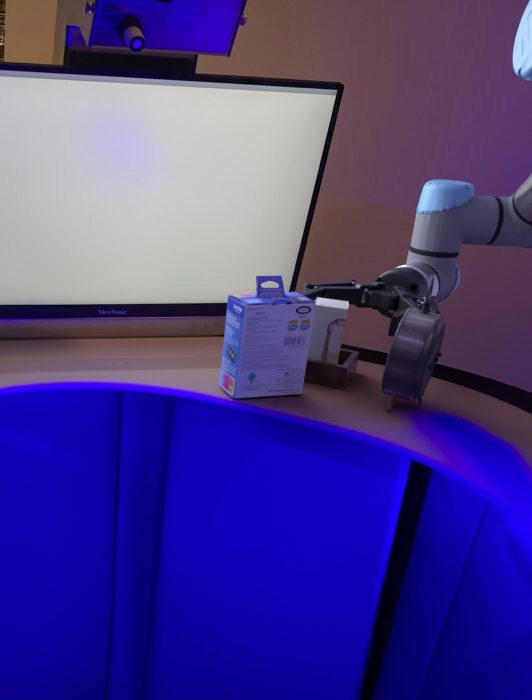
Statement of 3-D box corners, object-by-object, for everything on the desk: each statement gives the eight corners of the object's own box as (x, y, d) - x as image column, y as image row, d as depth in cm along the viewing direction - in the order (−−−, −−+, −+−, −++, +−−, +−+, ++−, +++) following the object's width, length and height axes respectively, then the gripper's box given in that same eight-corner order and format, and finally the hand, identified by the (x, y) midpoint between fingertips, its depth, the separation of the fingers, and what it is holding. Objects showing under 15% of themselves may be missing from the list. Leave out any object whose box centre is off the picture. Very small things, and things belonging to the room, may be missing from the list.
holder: (355, 372, 117) (359, 351, 116) (343, 389, 111) (347, 367, 109) (297, 360, 121) (300, 340, 119) (281, 377, 114) (284, 355, 113)
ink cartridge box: (283, 380, 113) (300, 272, 107) (304, 395, 108) (323, 283, 102) (215, 384, 110) (228, 274, 104) (233, 400, 105) (249, 285, 99)
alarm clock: (392, 387, 112) (418, 265, 105) (434, 396, 110) (464, 272, 103) (372, 412, 104) (399, 281, 97) (418, 423, 101) (449, 289, 94)
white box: (334, 383, 113) (348, 309, 109) (301, 378, 114) (313, 305, 110) (336, 371, 117) (349, 299, 113) (304, 366, 118) (315, 295, 114)
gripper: (480, 332, 125) (428, 363, 110) (325, 298, 140) (260, 321, 125) (493, 282, 122) (441, 307, 107) (333, 252, 137) (267, 271, 122)
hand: (344, 315), depth 116 cm, fingers open, 13 cm apart
